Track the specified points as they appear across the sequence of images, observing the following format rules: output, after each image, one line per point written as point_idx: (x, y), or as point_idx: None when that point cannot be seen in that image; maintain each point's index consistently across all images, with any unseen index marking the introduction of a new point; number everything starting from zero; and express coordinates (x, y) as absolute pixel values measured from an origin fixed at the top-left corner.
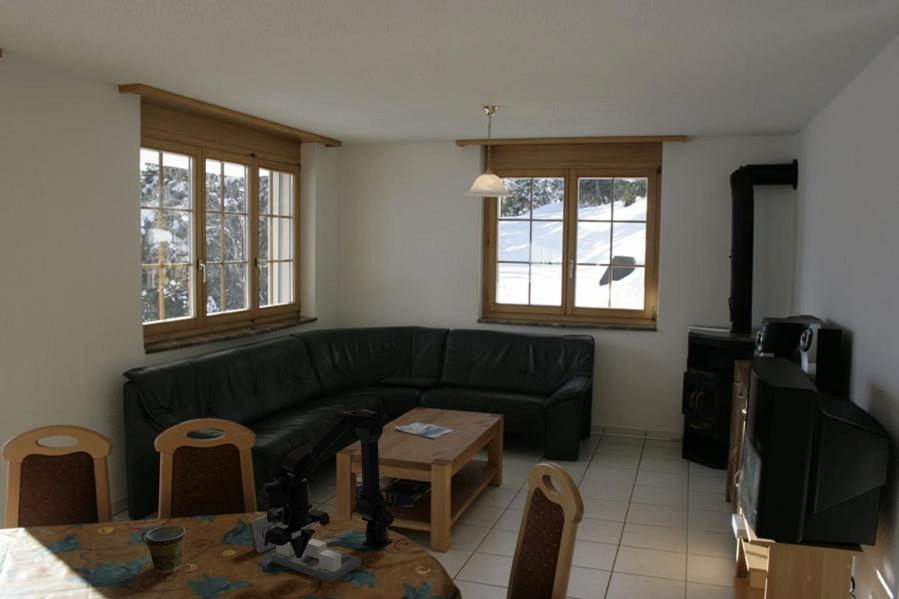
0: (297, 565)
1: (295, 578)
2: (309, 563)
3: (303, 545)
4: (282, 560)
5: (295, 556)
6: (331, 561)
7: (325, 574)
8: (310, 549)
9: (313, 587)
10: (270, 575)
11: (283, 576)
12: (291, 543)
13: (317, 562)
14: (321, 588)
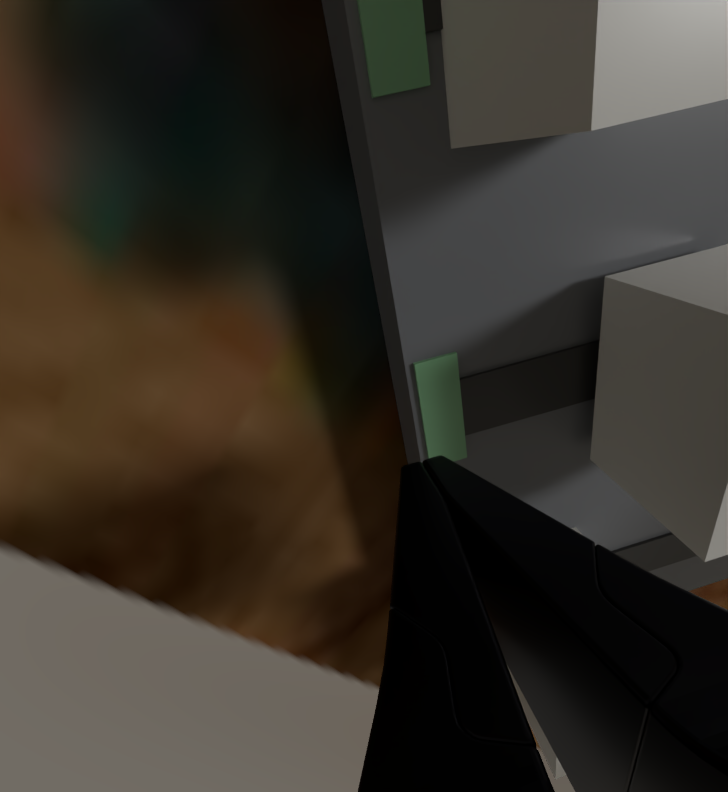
0: (401, 377)
1: (290, 463)
2: (490, 452)
3: (536, 712)
4: (352, 100)
5: (521, 189)
6: (535, 726)
7: None
8: (666, 399)
9: (319, 621)
10: (92, 253)
11: (217, 369)
12: (386, 733)
13: (547, 474)
14: (350, 646)
